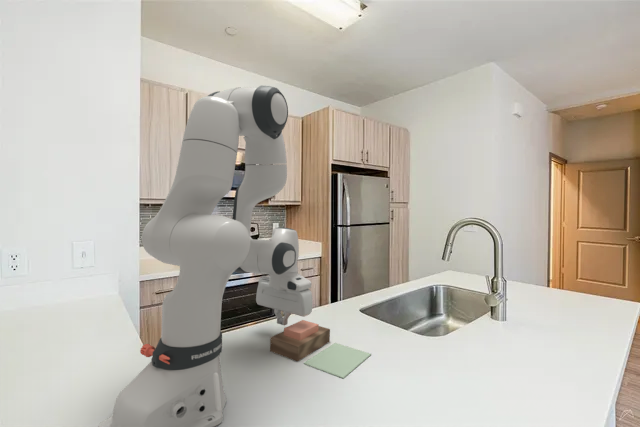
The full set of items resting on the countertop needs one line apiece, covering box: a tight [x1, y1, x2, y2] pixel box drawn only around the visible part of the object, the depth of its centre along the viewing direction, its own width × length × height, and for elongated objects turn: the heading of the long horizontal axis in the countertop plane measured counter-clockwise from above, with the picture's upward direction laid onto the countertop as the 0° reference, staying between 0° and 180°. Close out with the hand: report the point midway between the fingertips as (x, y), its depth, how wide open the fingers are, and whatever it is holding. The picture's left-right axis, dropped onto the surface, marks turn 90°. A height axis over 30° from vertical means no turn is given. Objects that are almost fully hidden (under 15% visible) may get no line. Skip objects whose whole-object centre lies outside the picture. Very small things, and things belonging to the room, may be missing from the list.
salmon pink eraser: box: [283, 319, 320, 340], centre depth 93 cm, size 9×6×2 cm, turn 146°
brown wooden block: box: [269, 325, 331, 363], centre depth 93 cm, size 16×10×4 cm, turn 146°
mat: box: [303, 342, 372, 380], centre depth 86 cm, size 16×12×1 cm
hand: (282, 324), depth 97 cm, fingers closed
